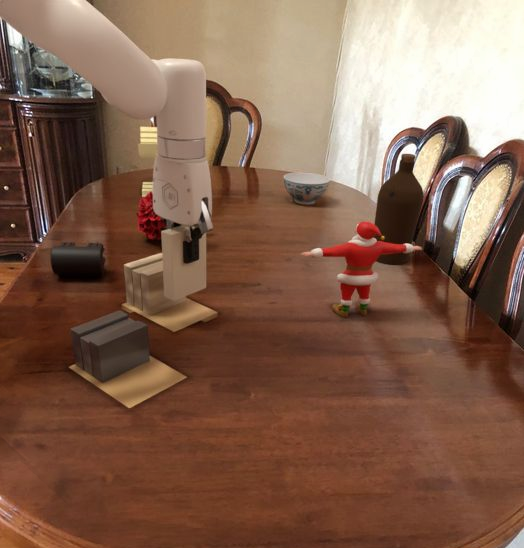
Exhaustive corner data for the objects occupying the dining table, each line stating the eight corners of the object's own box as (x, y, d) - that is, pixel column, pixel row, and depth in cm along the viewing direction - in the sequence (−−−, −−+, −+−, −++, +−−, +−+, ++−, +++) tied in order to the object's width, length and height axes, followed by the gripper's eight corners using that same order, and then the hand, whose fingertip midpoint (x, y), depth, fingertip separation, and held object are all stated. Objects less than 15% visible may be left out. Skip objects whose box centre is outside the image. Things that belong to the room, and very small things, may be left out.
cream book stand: (121, 309, 101) (117, 265, 96) (165, 292, 108) (163, 250, 104) (174, 336, 93) (172, 290, 88) (217, 316, 100) (218, 273, 96)
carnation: (169, 235, 160) (185, 274, 131) (118, 196, 151) (123, 228, 122) (201, 195, 157) (225, 226, 128) (152, 152, 148) (165, 175, 119)
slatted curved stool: (194, 205, 163) (193, 145, 154) (141, 205, 160) (137, 143, 151) (188, 181, 188) (188, 128, 179) (143, 180, 185) (140, 126, 176)
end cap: (53, 282, 110) (48, 251, 106) (61, 268, 116) (57, 239, 112) (102, 282, 111) (99, 252, 107) (108, 269, 117) (105, 240, 113)
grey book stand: (69, 372, 82) (62, 330, 78) (126, 346, 89) (123, 307, 85) (129, 413, 74) (125, 369, 70) (187, 382, 81) (186, 340, 77)
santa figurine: (400, 302, 111) (418, 214, 101) (414, 314, 106) (435, 224, 96) (288, 311, 104) (297, 219, 94) (298, 325, 99) (308, 229, 90)
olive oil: (411, 268, 128) (435, 161, 115) (368, 263, 129) (386, 157, 116) (408, 253, 137) (429, 152, 124) (367, 248, 138) (384, 148, 125)
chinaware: (297, 210, 165) (300, 185, 161) (273, 197, 176) (274, 174, 172) (336, 205, 172) (339, 181, 168) (310, 194, 183) (312, 171, 179)
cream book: (164, 296, 93) (160, 230, 87) (196, 283, 99) (196, 221, 93) (173, 301, 92) (171, 234, 86) (206, 288, 97) (206, 224, 91)
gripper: (130, 142, 84) (138, 251, 94) (201, 160, 76) (201, 278, 85) (166, 138, 89) (170, 242, 99) (236, 154, 81) (233, 266, 90)
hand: (184, 257), depth 92 cm, fingers closed on cream book, 2 cm apart
